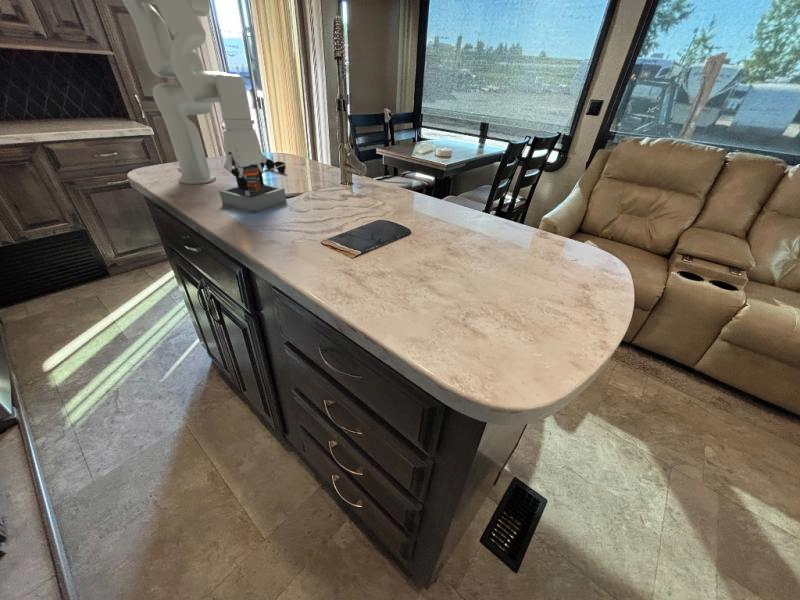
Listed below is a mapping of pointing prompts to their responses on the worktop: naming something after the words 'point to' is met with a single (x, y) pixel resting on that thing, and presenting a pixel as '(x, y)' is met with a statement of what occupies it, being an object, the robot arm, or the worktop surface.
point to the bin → (253, 198)
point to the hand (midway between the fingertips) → (251, 186)
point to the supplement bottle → (252, 181)
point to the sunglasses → (278, 165)
